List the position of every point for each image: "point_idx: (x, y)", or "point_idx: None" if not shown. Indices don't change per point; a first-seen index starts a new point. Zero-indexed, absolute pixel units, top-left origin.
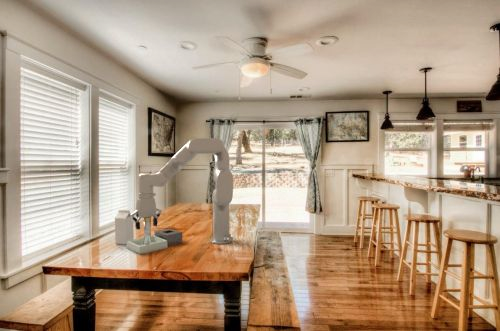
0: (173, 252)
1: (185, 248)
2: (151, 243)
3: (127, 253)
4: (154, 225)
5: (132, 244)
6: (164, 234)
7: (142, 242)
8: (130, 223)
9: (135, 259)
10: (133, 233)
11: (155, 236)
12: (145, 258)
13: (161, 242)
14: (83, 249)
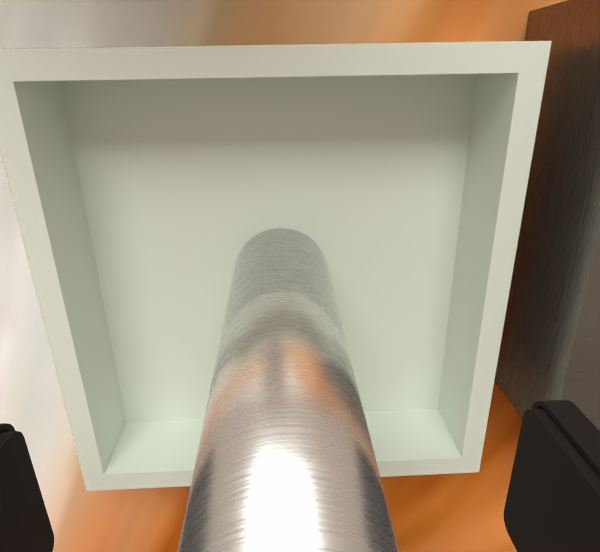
0: None
1: None
2: (388, 187)
3: (12, 290)
4: (518, 479)
5: (43, 297)
6: (576, 379)
7: (292, 78)
8: None
9: (48, 504)
10: None
11: (523, 149)
12: (134, 532)
13: (392, 470)
14: None
